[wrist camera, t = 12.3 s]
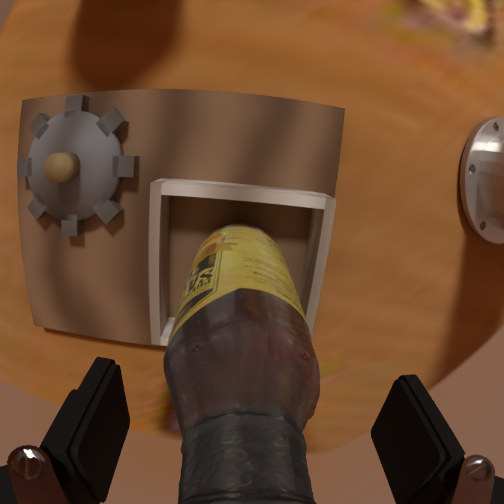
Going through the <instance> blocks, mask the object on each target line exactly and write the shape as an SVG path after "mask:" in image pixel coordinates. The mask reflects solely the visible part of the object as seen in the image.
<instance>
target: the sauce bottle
mask: <svg viewBox="0 0 504 504" xmlns="http://www.w3.org/2000/svg"><path fill="white" fill-rule="evenodd" d="M164 373H165V377H166V381H167V384H168V388H169V391H170V395H171V398H172V402H173V405H174V409H175V412H176V415H177V419H178V422H179V426H180V430H181V434H182V438H183V442H182V446H181V452H182V455H183V459H182V468H181V477H180V482H179V497H178V504H316V503H315V501H314V498H313V492H312V488H311V481H310V477H309V474H308V468H307V461H306V441H305V439H304V436H303V434H302V431H303V429H304V428H305V425H306V423H307V421H308V419H310V418H311V417H312V416H313V415H314V411H315V408H316V404H317V402H318V398H319V395H320V373H319V364H318V361H317V358H316V355H315V352H314V349H313V346H312V343H311V333H310V330H309V326H308V324H307V321H306V318H305V315H304V312H303V309H302V307H301V304H300V301H299V298H298V295H297V292H296V290H295V287H294V284H293V281H292V278H291V276H290V273H289V270H288V267H287V265H286V262H285V259H284V256H283V254H282V251H281V249H280V248H279V246H278V245H277V244H276V243H275V241H274V239H273V238H272V237H271V236H270V235H269V234H268V233H266V232H265V231H263V230H262V229H260V228H258V227H256V226H253V225H250V224H247V223H232V224H227V225H225V226H222V227H220V228H218V229H215V230H214V231H213V232H212V233H211V234H210V235H209V236H208V237H207V238H206V240H204V242H203V243H202V244H201V245H200V247H199V248H198V250H197V252H196V255H195V258H194V261H193V264H192V267H191V270H190V273H189V276H188V279H187V282H186V285H185V287H184V291H183V294H182V297H181V299H180V303H179V307H178V310H177V313H176V316H175V321H174V324H173V327H172V330H171V333H170V336H169V340H168V344H167V348H166V351H165V355H164Z"/></svg>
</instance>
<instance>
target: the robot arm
mask: <svg viewBox="0 0 504 504" xmlns="http://www.w3.org/2000/svg"><path fill="white" fill-rule="evenodd" d="M460 195H461V200H462V205H463V209H464V212H465V215H466V218H467V220H468V222H469V224H470V226H471V227H472V229H473V230H474V231H475V232H476V233H477V235H479V236H480V237H482V238H483V239H485V240H487V241H489V242H491V243H496V244H503V243H504V118H499V117H496V118H489V119H487V120H485V121H483V122H481V123H480V124H479V125H478V126H477V127H476V128H475V129H474V131H473V132H472V133H471V135H470V137H469V139H468V141H467V143H466V146H465V149H464V152H463V156H462V161H461V167H460ZM129 425H130V416H129V412H128V407H127V402H126V397H125V392H124V386H123V381H122V375H121V369H120V366H119V365H116V363H115V361H114V360H112V359H107V358H102V357H97V358H96V359H95V361H94V362H93V364H92V366H91V367H90V369H89V371H88V373H87V374H86V376H85V378H84V379H83V381H82V383H81V385H80V386H79V388H78V390H75V389H74V390H72V391H71V392H70V393H69V395H68V396H67V398H66V400H65V402H64V403H63V405H62V407H61V409H60V410H59V412H58V414H57V416H56V417H55V419H54V421H53V423H52V425H51V427H50V428H49V430H48V432H47V434H46V436H45V437H44V439H43V441H42V443H41V445H40V447H39V448H38V447H36V446H32V445H24V446H20V447H17V448H16V449H14V450H13V451H12V452H11V453H10V455H9V456H8V460H7V465H5V466H1V467H0V504H100V502H103V503H104V502H105V501H106V498H107V495H108V492H109V488H110V484H111V482H112V478H113V475H114V472H115V469H116V466H117V462H118V459H119V456H120V453H121V450H122V447H123V444H124V441H125V438H126V435H127V432H128V429H129ZM371 438H372V440H373V443H374V445H375V448H376V450H377V453H378V456H379V459H380V461H381V464H382V467H383V469H384V472H385V475H386V477H387V480H388V483H389V486H390V488H391V491H392V494H393V497H394V499H395V502H396V504H504V479H503V478H500V477H497V476H495V469H494V466H493V464H492V463H491V461H490V460H489V459H487V458H486V457H484V456H481V455H471V456H469V457H467V458H466V459H465V458H464V454H465V452H464V450H463V449H462V447H461V446H460V444H459V442H458V440H457V438H456V437H455V435H454V433H453V432H452V430H451V428H450V427H449V425H448V424H447V422H446V420H445V419H444V417H443V415H442V414H441V412H440V411H439V409H438V407H437V406H436V404H435V403H434V401H433V400H432V398H431V396H430V395H429V394H428V392H427V390H426V389H425V387H424V386H423V384H422V383H421V381H420V380H419V378H418V377H417V376H416V375H414V374H413V375H402V376H400V377H399V378H398V380H395V381H394V383H393V385H392V388H391V390H390V392H389V394H388V396H387V398H386V401H385V403H384V405H383V407H382V409H381V411H380V413H379V415H378V417H377V419H376V421H375V423H374V425H373V427H372V429H371Z"/></svg>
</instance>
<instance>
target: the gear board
mask: <svg viewBox="0 0 504 504" xmlns="http://www.w3.org/2000/svg"><path fill="white" fill-rule="evenodd" d="M344 112H345V109H344V108H339V107H334V106H328V105H323V104H318V103H312V102H306V101H300V100H293V99H286V98H279V97H272V96H263V95H255V94H245V93H234V92H221V91H205V90H179V89H135V90H110V91H95V92H83V93H72V94H63V95H55V96H47V97H40V98H34V99H28V100H22V108H21V118H20V130H19V145H18V159H17V177H18V210H19V226H20V238H21V248H22V257H23V265H24V272H25V278H26V285H27V291H28V296H29V302H30V307H31V312H32V316H33V321H34V325H36V326H40V327H45V328H49V329H54V330H59V331H64V332H69V333H74V334H80V335H85V336H91V337H97V338H103V339H109V340H115V341H122V342H129V343H136V344H144V345H151V346H160V347H167V344H168V340H169V336H170V333H171V330H172V327H173V324H174V321H175V316H176V313H177V310H178V307H179V303H180V299H181V297H182V294H183V291H184V287H185V285H186V282H187V279H188V276H189V273H190V270H191V267H192V264H193V261H194V258H195V255H196V252H197V250H198V248H199V247H200V245H201V244H202V243H203V242H204V240H206V238H207V237H208V236H209V235H210V234H211V233H212V232H213V231H214V230H215V229H218V228H220V227H222V226H225V225H227V224H232V223H247V224H250V225H253V226H256V227H258V228H260V229H262V230H263V231H265V232H266V233H268V234H269V235H270V236H271V237H272V238H273V239H274V241H275V243H276V244H277V245H278V246H279V248H280V249H281V251H282V254H283V256H284V259H285V262H286V265H287V267H288V270H289V273H290V276H291V278H292V281H293V284H294V287H295V290H296V292H297V295H298V298H299V301H300V304H301V307H302V309H303V312H304V315H305V318H306V321H307V324H308V326H309V330H310V333H311V336H312V331H313V327H314V322H315V317H316V313H317V308H318V303H319V298H320V293H321V288H322V283H323V278H324V273H325V267H326V262H327V257H328V251H329V245H330V239H331V234H332V227H333V221H334V215H335V209H336V202H337V200H336V199H334V195H335V188H336V180H337V173H338V165H339V157H340V149H341V141H342V132H343V122H344Z"/></svg>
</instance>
